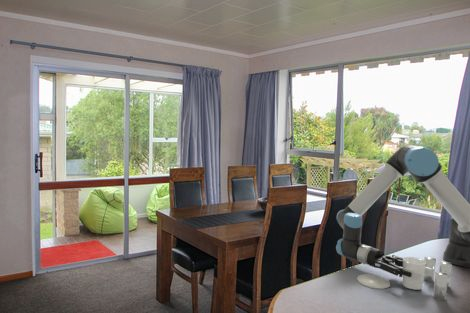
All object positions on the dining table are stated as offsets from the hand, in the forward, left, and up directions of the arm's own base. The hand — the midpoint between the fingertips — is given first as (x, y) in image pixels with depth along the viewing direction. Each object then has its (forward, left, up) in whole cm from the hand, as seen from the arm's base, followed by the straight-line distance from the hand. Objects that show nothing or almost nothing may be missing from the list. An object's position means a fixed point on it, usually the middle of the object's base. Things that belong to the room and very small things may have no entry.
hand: (426, 275), depth 140 cm
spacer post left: (-10, -10, -7) cm, 15 cm away
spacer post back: (-12, -4, -7) cm, 15 cm away
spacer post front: (-2, +5, -7) cm, 9 cm away
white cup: (+2, -4, -6) cm, 8 cm away
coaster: (+14, -11, -7) cm, 19 cm away
